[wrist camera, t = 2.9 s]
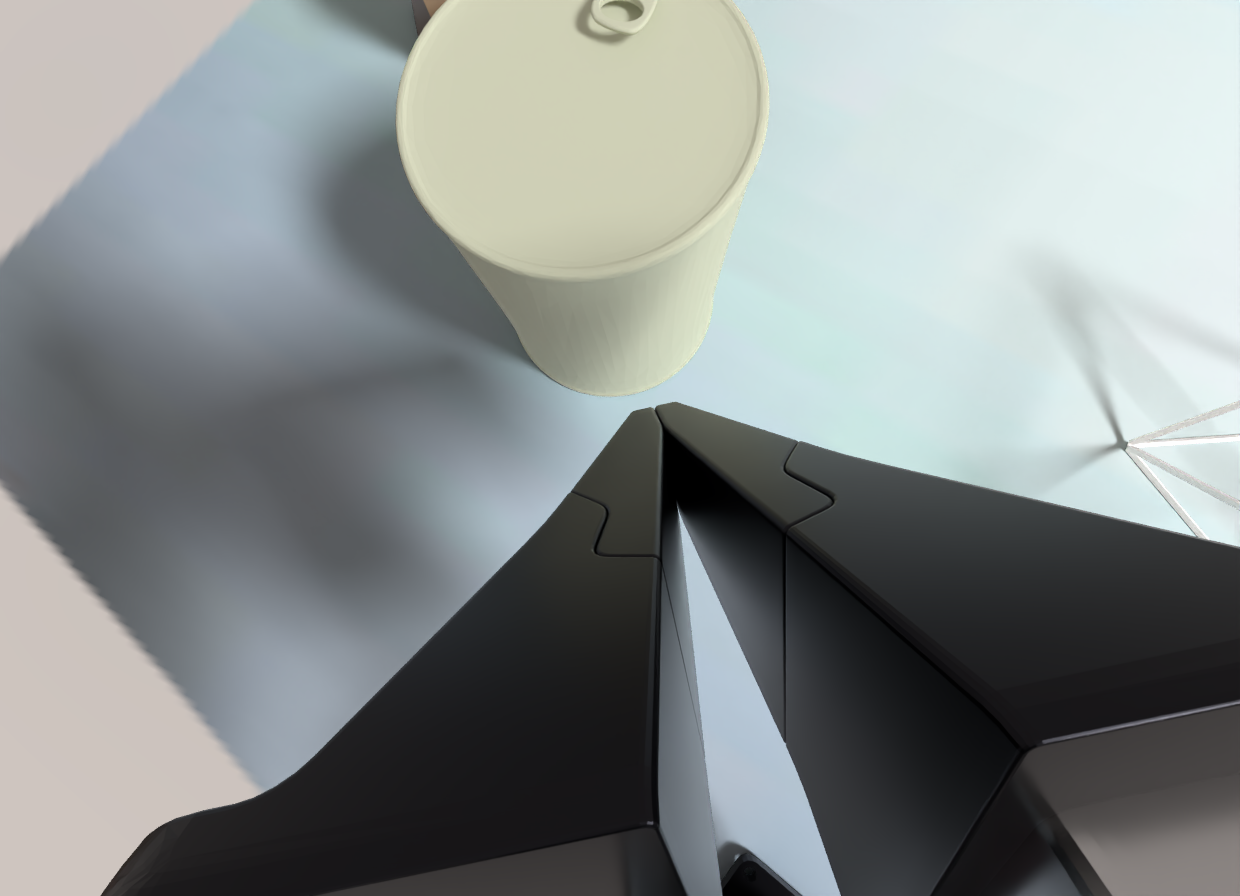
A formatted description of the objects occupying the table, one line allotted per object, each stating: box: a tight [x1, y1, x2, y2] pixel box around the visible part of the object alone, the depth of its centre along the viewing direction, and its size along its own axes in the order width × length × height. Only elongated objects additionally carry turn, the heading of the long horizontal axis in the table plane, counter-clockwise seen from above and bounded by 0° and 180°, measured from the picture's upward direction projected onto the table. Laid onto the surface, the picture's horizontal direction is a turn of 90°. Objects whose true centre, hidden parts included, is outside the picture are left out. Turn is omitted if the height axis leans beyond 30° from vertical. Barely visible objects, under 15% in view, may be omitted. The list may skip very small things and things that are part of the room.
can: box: [396, 0, 769, 397], centre depth 18 cm, size 9×9×12 cm
